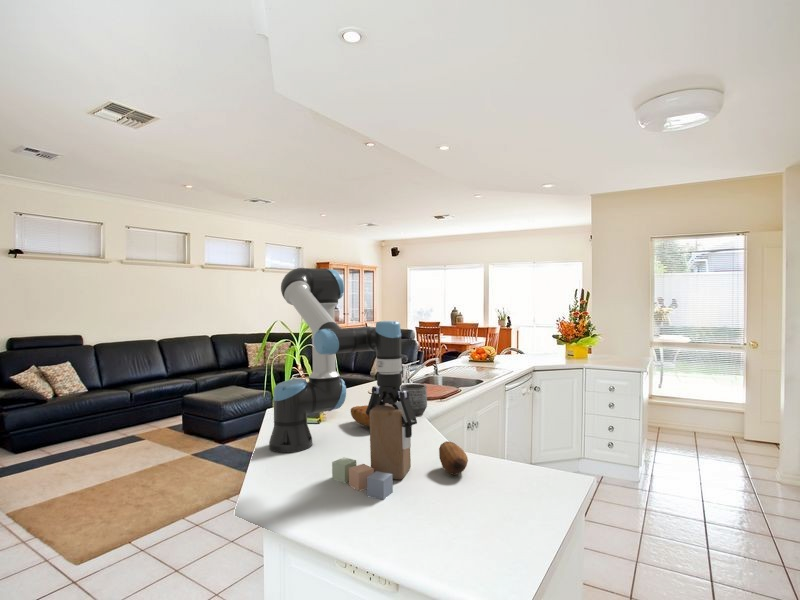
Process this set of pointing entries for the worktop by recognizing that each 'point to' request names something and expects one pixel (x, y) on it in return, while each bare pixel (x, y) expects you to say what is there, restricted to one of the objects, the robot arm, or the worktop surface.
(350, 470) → the terracotta cube
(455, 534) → the worktop surface
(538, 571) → the worktop surface
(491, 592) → the worktop surface
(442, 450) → the potato
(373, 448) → the wooden block
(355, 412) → the bread loaf
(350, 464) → the sage cube
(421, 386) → the planter
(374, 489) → the slate cube
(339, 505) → the worktop surface
